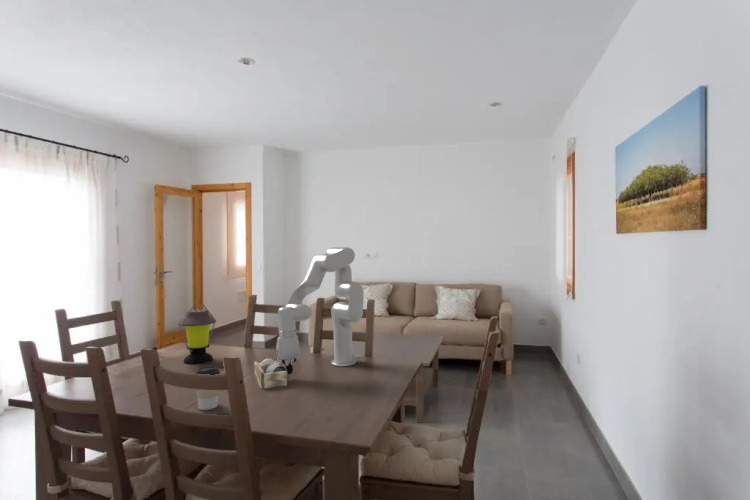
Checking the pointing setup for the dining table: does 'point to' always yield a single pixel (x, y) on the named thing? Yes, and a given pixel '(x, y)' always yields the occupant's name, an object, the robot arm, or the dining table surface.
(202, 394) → the coffee cup
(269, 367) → the ceramic mug
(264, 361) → the white plate
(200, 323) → the lantern
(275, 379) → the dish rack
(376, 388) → the dining table surface
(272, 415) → the dining table surface
